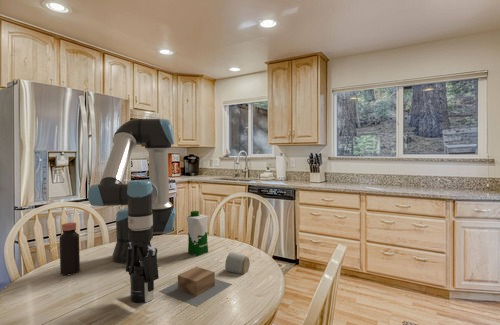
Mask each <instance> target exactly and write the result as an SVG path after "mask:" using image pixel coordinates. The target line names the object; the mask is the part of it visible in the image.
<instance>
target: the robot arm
mask: <svg viewBox="0 0 500 325" xmlns="http://www.w3.org/2000/svg"><path fill="white" fill-rule="evenodd" d="M112 143H113V145H112V147H111V150H110V153H109V157H108V158H107V162H106V164H105V168H104V170H103V173H102V176H101V179H100V181H99V183H97V184H91V186H89V188H88V192H87V200H88V203H89V204H90V205H91V206H93V207H108V206H110V207H111V206H127V207H126V208H122V209H119V210H118V211H116V214H115V216H116V217H115V229H116V231H115V232H116V235H115V236H116V243H115V247H114V249H113V253H112V261H113V262H115V263H122V264H124V263H125V273H128V275H129V283H130V284H131V275H132V273H133V272H134V264H136V263H138V262H142V264H143V268H144V273H145V277H146V281H144V283H145V302H144V303H148V302H150V301H152V300H153V299H154V289H155V281H156V280H159V265H158V248H157V247H155V248H154V247H152V244H151V241H152V239H154V235H155V234H156V235H157V234H159V235H160V234H168V233H169V234H170V233H172V232H173V231H174V226H175V221H176V214H177V212H176V210H177V208H175V207H173V203H172V202H171V201H170V186H169V185H170V182H169V181H170V180H169V151H170V150H171V149H172V145H175V135H174V128H173V124H172V122H171V121H170V120H169V119H165V118H164V119H163V118H134V119H130V120H128V121H126V122H124V123H123V124H122V125H121V126H119V127H118V128H117V129H116V131H115V133H114V134H113V138H112ZM137 145H144V148H145V150H146V151H147V152H148V165H149V166H148V171H149V174H148V176H149V180H148V179H135V180H129V181H128V182H127V183H124V180H125V177H126V174H127V169H128V166H129V163H130V159H131V154H132V151H133V149H135V147H136V146H137Z"/></svg>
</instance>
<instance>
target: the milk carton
mask: <svg viewBox="0 0 500 325" xmlns="http://www.w3.org/2000/svg"><path fill="white" fill-rule="evenodd" d="M209 217H210V215H206V214H200V211H199V210H192V211H190V215H188V216H186V220H187V228H188V229H187V230H188V242H187V244H188V246H187V247H188V248H187V250H188V251H187V253H188V254H190V255H192V256H193V255H194V256H196V257H199V256H202V255H204V254H207V253H209V243H208V222H209Z"/></svg>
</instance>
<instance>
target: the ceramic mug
mask: <svg viewBox="0 0 500 325" xmlns="http://www.w3.org/2000/svg"><path fill="white" fill-rule="evenodd" d="M250 265H251V263H250V257H248V256H246V255H243V254H239V253H234V252H230V253H228V255H227V256H226V259H225V271H226V272H228V273H235V274H239V275H240V274H241V275H244V274H247V273H248V272H249V269H250Z"/></svg>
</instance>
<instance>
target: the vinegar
mask: <svg viewBox="0 0 500 325" xmlns="http://www.w3.org/2000/svg"><path fill="white" fill-rule="evenodd" d="M61 231H62V234H61V235H60V236H59V265H60V266H59V267H60V271H59V272H60V275H61V274H63V275H62V276H69V275H68V274H72V275H74V274H73V273H75V274H77V273H79V272H80V270H81V261H80V260H81V259H80V235H79V233H78V232H77V222H66V223H63V224H61ZM78 271H79V272H78ZM76 272H77V273H76Z"/></svg>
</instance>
